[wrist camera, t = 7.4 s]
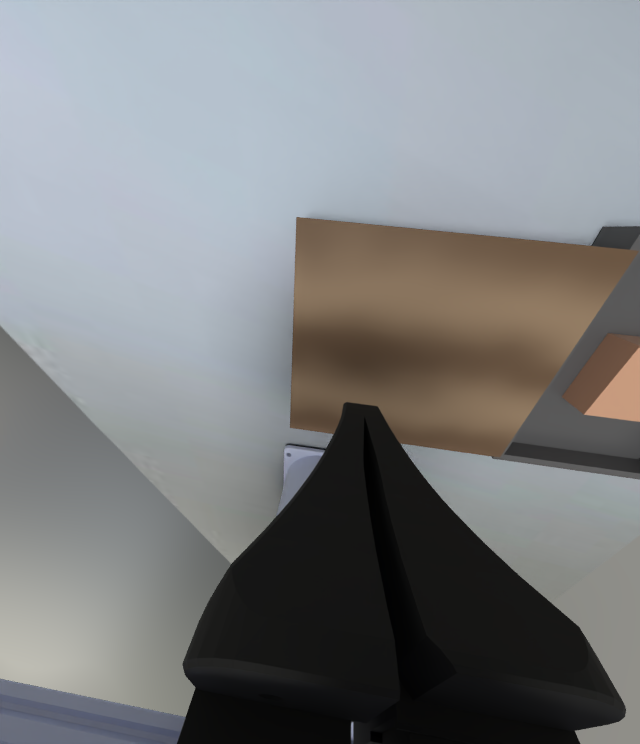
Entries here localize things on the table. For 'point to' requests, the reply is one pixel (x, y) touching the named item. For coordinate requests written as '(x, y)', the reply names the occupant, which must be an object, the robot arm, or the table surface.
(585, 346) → the tray
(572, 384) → the tile
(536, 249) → the platform
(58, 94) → the table surface
